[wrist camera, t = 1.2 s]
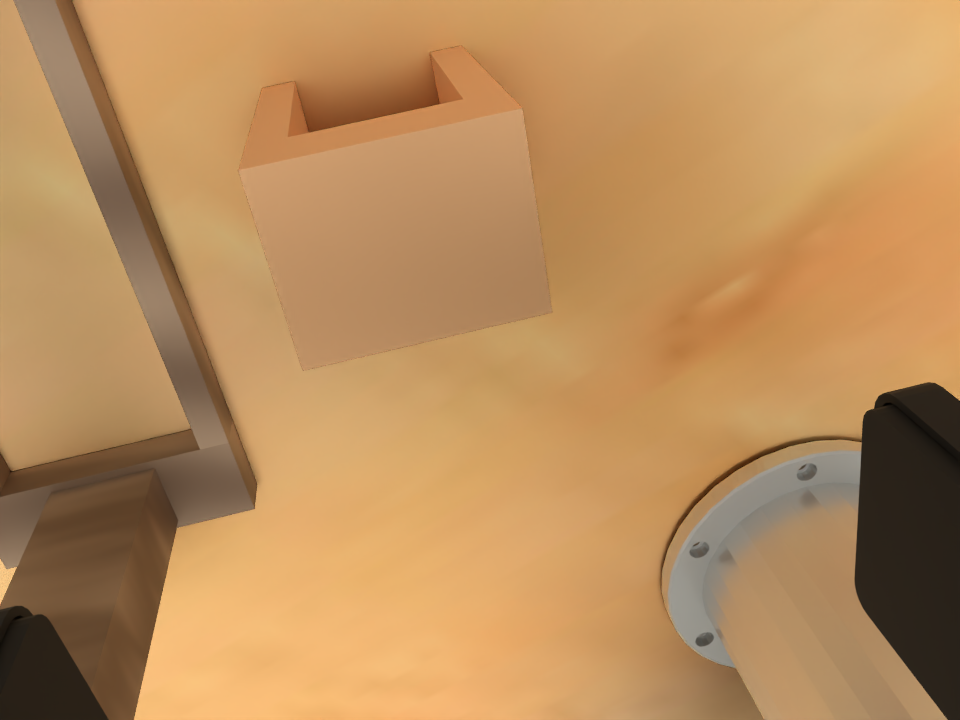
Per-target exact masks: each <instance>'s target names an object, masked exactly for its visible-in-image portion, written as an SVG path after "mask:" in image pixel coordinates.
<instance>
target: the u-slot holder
mask: <svg viewBox="0 0 960 720" xmlns="http://www.w3.org/2000/svg"><path fill="white" fill-rule="evenodd" d="M430 56H431V61H432V66H433V72H434V77H435V82H436V87H437V92H438V97H439V102H440V104H439V105H434V106H430V107H425V108H420V109H416V110H411V111H406V112H402V113H397V114H393V115H388V116H383V117H379V118H374V119H370V120H365V121H360V122H356V123H351V124H347V125H342V126H337V127H333V128H328V129H323V130H319V131H314V132H310V133H309V131H308V128H307V124H306V120H305V117H304V113H303V110H302V106H301V102H300V99H299V95H298V91H297V88H296V84H295V81H293V82H288V83H284V84H279V85H274V86H269V87H265V88H262V90H261V94H260V97H259V101H258V104H257V107H256V111H255V114H254V118H253V121H252V124H251V128H250V131H249V135H248V138H247V141H246V145H245V148H244V152H243V155H242V159H241V162H240V165H239V169H238V172H239V175H240V178H241V181H242V184H243V187H244V191H245V194H246V197H247V200H248V203H249V206H250V209H251V212H252V215H253V218H254V222H255V225H256V228H257V231H258V234H259V237H260V240H261V243H262V246H263V249H264V253H265V256H266V259H267V262H268V265H269V268H270V271H271V274H272V277H273V280H274V284H275V287H276V290H277V293H278V296H279V299H280V302H281V305H282V308H283V311H284V314H285V318H286V321H287V324H288V327H289V330H290V333H291V336H292V339H293V342H294V345H295V349H296V352H297V355H298V358H299V361H300V364H301V367H302V370H303V371H304V370H309V369H313V368H317V367H322V366H326V365H330V364H334V363H339V362H343V361H347V360H352V359H356V358H360V357H364V356H369V355H373V354H377V353H381V352H386V351H390V350H394V349H399V348H403V347H407V346H411V345H416V344H420V343H424V342H428V341H433V340H437V339H441V338H446V337H450V336H454V335H458V334H463V333H467V332H471V331H476V330H480V329H484V328H488V327H493V326H497V325H501V324H505V323H510V322H514V321H518V320H523V319H527V318H531V317H535V316H540V315H544V314H548V313H552V307H551V300H550V293H549V286H548V279H547V272H546V266H545V259H544V252H543V245H542V238H541V232H540V225H539V218H538V211H537V204H536V197H535V191H534V184H533V177H532V170H531V163H530V156H529V150H528V143H527V136H526V129H525V122H524V116H523V109H522V107H521V106H520V105H519V104H518V103H517V102H516V101H515V100H514V99H513V98H512V97H511V96H510V95H509V94H508V93H507V92H506V91H505V90H504V89H503V88H502V87H501V86H500V85H499V84H498V83H497V82H496V81H495V80H494V78H493V77H492V76H491V75H490V74H489V73H488V72H487V71H486V70H485V69H484V68H483V67H482V66H481V65H480V64H479V63H478V62H477V61H476V60H475V59H474V58H473V57H472V56H471V55H470V54H469V53H468V52H467V51H466V50H465V49H464V48H463V47H462V46H457V47H453V48H448V49H443V50H438V51H434V52H430Z"/></svg>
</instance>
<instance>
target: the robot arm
mask: <svg viewBox="0 0 960 720" xmlns="http://www.w3.org/2000/svg"><path fill="white" fill-rule="evenodd" d="M661 591H662V595H663V599H664V604H665V608H666V611H667V613H668V615H669V616H670V619H671V621H672V623H673V625H674V627H675V630H676V631H677V632H678V634H679V635H680V636H681V638H682V639H683V641H684V642H685V643H686V645H688V646H689V647H690V648H692V649H693V650H694V651H695V652H697V653H698V654H699V655H700V656H702V657H704V658H706V659H709V660H711V661H713V662H715V663H717V664H720V665H724V666H729V667H733V668H736V669H737V671H738V673H739V674H740V676H741V678H742V680H743V682H744V684H745V686H746V687H747V689H748V691H749V693H750V695H751V697H752V698H753V700H754V702H755V704H756V706H757V708H758V710H759V711H760V713H761V715H762V717H763V719H764V720H960V401H959V400H958V399H957V398H955V397H954V396H953V395H952V394H950V393H949V392H948V391H946V390H945V389H944V388H943V387H941V386H939V385H937V384H936V383H924V384H920V385H916V386H912V387H908V388H903V389H899V390H895V391H891V392H887V393H884V394H882V395H880V396H879V397H878V398H877V400H876V402H875V407H874V409H871V410H869V411H867V412H866V413H865V415H864V419H863V428H862V442H856V441H849V440H822V441H813V442H808V443H804V444H799V445H794V446H789V447H787V448H784V449H781V450H779V451H776V452H773V453H770V454H768V455H765V456H762V457H761V458H759V459H757V460H755V461H753V462H751V463H749V464H748V465H746V466H744V467H742V468H740V469H738V470H737V471H735V472H734V473H733V474H731V475H730V476H728V477H727V478H726V479H724V480H723V481H722V482H720V483H719V484H718V485H716V486H715V487H714V488H713V489H712V490H711V491H710V492H709V493H708V494H707V495H705V496H704V497H703V498H702V499H701V500H700V501H699V502H698V503H697V504H696V505H695V506H694V508H693V509H692V510H691V512H690V513H689V514H688V516H687V517H686V518H685V520H684V521H683V522H682V524H681V525H680V527H679V528H678V530H677V532H676V534H675V536H674V538H673V540H672V542H671V544H670V546H669V548H668V551H667V554H666V558H665V562H664V566H663V569H662V590H661ZM0 720H109V719H108V718H107V716H106V714H105V712H104V711H103V709H102V707H101V706H100V704H99V702H98V701H97V699H96V697H95V696H94V694H93V692H92V691H91V689H90V687H89V686H88V684H87V682H86V681H85V679H84V677H83V675H82V674H81V672H80V670H79V669H78V667H77V665H76V664H75V662H74V660H73V659H72V657H71V655H70V654H69V652H68V650H67V649H66V647H65V645H64V643H63V642H62V640H61V638H60V637H59V635H58V633H57V632H56V630H55V628H54V627H53V625H52V623H51V622H50V620H49V619H48V618H47V617H46V616H44V615H43V614H37V615H33V614H32V613H31V612H30V611H29V610H28V609H27V608H25V607H23V606H13V607H9V608H5V609H0Z"/></svg>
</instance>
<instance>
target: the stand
mask: <svg viewBox="0 0 960 720" xmlns="http://www.w3.org/2000/svg"><path fill="white" fill-rule="evenodd" d="M14 2H15V5H16V7H17V10H18V12H19V15H20V17H21V19H22V22H23V24H24V27H25V29H26V31H27V34H28V36H29V39H30V41H31V43H32V46H33V48H34V51H35V53H36V55H37V58H38V60H39V63H40V65H41V68H42V70H43V72H44V75H45V77H46V80H47V82H48V84H49V87H50V89H51V92H52V94H53V96H54V99H55V101H56V104H57V106H58V108H59V111H60V113H61V116H62V118H63V121H64V123H65V125H66V128H67V130H68V133H69V135H70V137H71V140H72V142H73V145H74V147H75V149H76V152H77V154H78V157H79V159H80V161H81V164H82V166H83V169H84V171H85V174H86V176H87V178H88V181H89V183H90V186H91V188H92V190H93V193H94V195H95V198H96V200H97V202H98V205H99V207H100V210H101V212H102V214H103V217H104V219H105V222H106V224H107V227H108V229H109V231H110V234H111V236H112V239H113V241H114V243H115V246H116V248H117V251H118V253H119V255H120V258H121V260H122V263H123V265H124V267H125V270H126V272H127V275H128V277H129V279H130V282H131V284H132V287H133V289H134V292H135V294H136V296H137V299H138V301H139V304H140V306H141V308H142V311H143V313H144V316H145V318H146V320H147V323H148V325H149V328H150V330H151V332H152V335H153V337H154V340H155V342H156V345H157V347H158V349H159V352H160V354H161V357H162V359H163V361H164V364H165V366H166V369H167V371H168V373H169V376H170V378H171V381H172V383H173V385H174V388H175V390H176V393H177V395H178V398H179V400H180V402H181V405H182V407H183V410H184V412H185V414H186V417H187V419H188V422H189V424H190V426H191V429H192V430H187V431H183V432H179V433H175V434H170V435H166V436H162V437H158V438H154V439H149V440H145V441H141V442H137V443H132V444H128V445H124V446H120V447H115V448H111V449H107V450H103V451H99V452H94V453H90V454H86V455H82V456H77V457H73V458H69V459H65V460H60V461H56V462H52V463H48V464H43V465H39V466H35V467H31V468H27V469H22V470H18V471H14V472H10V470H9V468H8V466H7V464H6V463H5V461H4V459H3V457H2V456H1V454H0V559H1V561H2V562H3V564H4V565H5V567H6V569H9V568H14V567H17V569H16V571H15V573H14V575H13V578H12V580H11V582H10V584H9V587H8V589H7V591H6V593H5V596H4V598H3V600H2V602H1V604H0V609H5V608H9V607H13V606H23V607H25V608H27V609H28V610H29V611H30V612H31V613H32V614H33V615H37V614H43V615H44V616H46V617H47V618H48V619H49V620H50V622H51V623H52V625H53V627H54V628H55V630H56V632H57V633H58V635H59V637H60V638H61V640H62V642H63V643H64V645H65V647H66V649H67V650H68V652H69V654H70V655H71V657H72V659H73V660H74V662H75V664H76V665H77V667H78V669H79V670H80V672H81V674H82V675H83V677H84V679H85V681H86V682H87V684H88V686H89V687H90V689H91V691H92V692H93V694H94V696H95V697H96V699H97V701H98V702H99V704H100V706H101V707H102V709H103V711H104V712H105V714H106V716H107V718H108V719H109V720H134V716H135V712H136V707H137V703H138V698H139V694H140V689H141V685H142V680H143V676H144V671H145V667H146V663H147V658H148V654H149V649H150V645H151V640H152V636H153V631H154V627H155V622H156V618H157V613H158V609H159V604H160V600H161V596H162V591H163V587H164V582H165V578H166V573H167V569H168V564H169V560H170V555H171V551H172V546H173V542H174V537H175V533H176V529H177V528H178V527H182V526H186V525H191V524H195V523H199V522H203V521H207V520H211V519H215V518H219V517H224V516H228V515H232V514H236V513H240V512H244V511H248V510H252V509H255V500H256V491H257V483H256V480H255V478H254V475H253V472H252V470H251V467H250V465H249V462H248V459H247V457H246V454H245V452H244V449H243V446H242V444H241V441H240V438H239V436H238V433H237V431H236V428H235V425H234V423H233V420H232V418H231V415H230V412H229V410H228V407H227V405H226V402H225V399H224V397H223V394H222V392H221V389H220V386H219V384H218V381H217V379H216V376H215V373H214V371H213V368H212V365H211V363H210V360H209V358H208V355H207V352H206V350H205V347H204V345H203V342H202V339H201V337H200V334H199V332H198V329H197V326H196V324H195V321H194V319H193V316H192V313H191V311H190V308H189V306H188V303H187V300H186V298H185V295H184V293H183V290H182V287H181V285H180V282H179V279H178V277H177V274H176V272H175V269H174V266H173V264H172V261H171V259H170V256H169V253H168V251H167V248H166V246H165V243H164V240H163V238H162V235H161V233H160V230H159V227H158V225H157V222H156V220H155V217H154V214H153V212H152V209H151V206H150V204H149V201H148V199H147V196H146V193H145V191H144V188H143V186H142V183H141V180H140V178H139V175H138V173H137V170H136V167H135V165H134V162H133V160H132V157H131V154H130V152H129V149H128V147H127V144H126V141H125V139H124V136H123V134H122V131H121V128H120V126H119V123H118V120H117V118H116V115H115V113H114V110H113V107H112V105H111V102H110V100H109V97H108V94H107V92H106V89H105V87H104V84H103V81H102V79H101V76H100V74H99V71H98V68H97V66H96V63H95V61H94V58H93V55H92V53H91V50H90V47H89V45H88V42H87V40H86V37H85V34H84V32H83V29H82V27H81V24H80V21H79V19H78V16H77V14H76V11H75V8H74V6H73V3H72V1H71V0H14Z"/></svg>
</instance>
